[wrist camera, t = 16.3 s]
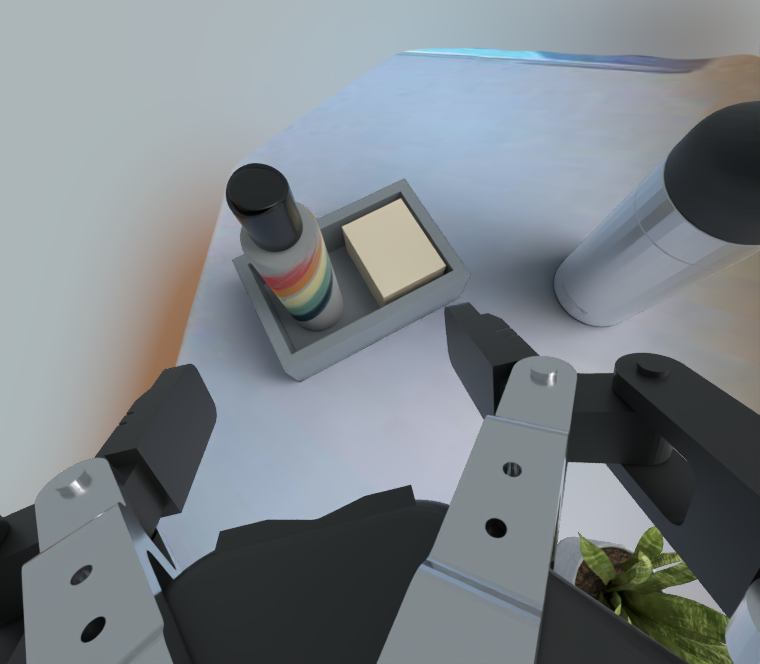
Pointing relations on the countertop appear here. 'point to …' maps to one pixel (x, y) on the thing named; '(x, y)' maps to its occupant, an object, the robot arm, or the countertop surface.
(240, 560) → the robot arm
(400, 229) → the plain beige carton
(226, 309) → the countertop surface
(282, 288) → the lotion bottle
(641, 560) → the house plant
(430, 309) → the tote
